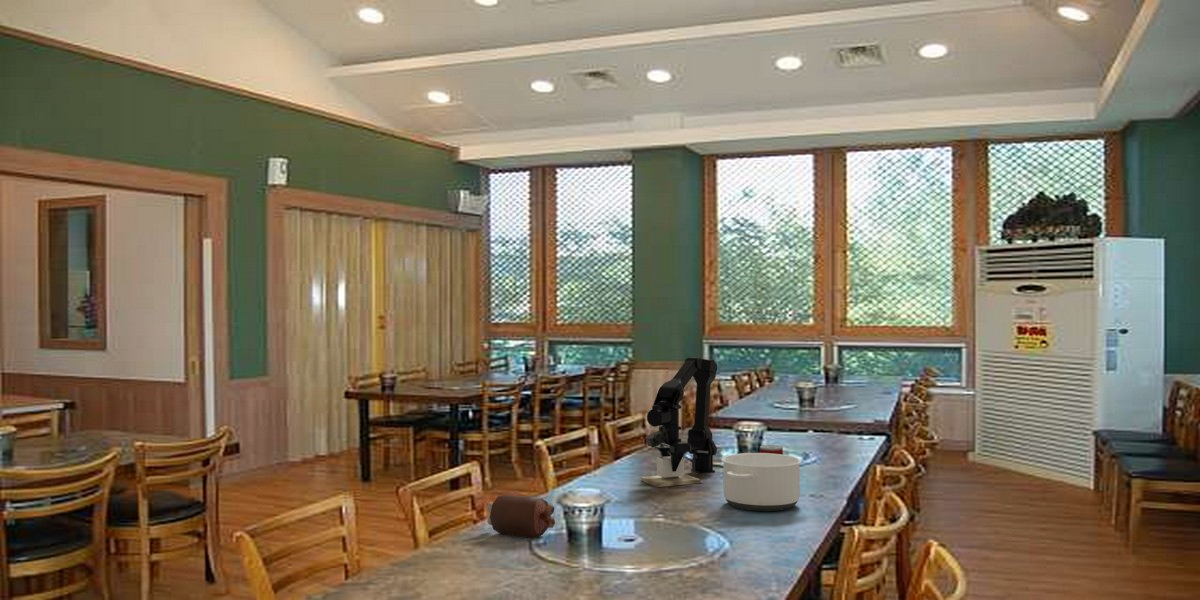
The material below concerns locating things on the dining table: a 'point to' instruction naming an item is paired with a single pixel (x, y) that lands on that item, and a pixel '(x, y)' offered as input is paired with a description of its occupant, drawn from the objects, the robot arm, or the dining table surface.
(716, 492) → the dining table surface
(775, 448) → the canned food
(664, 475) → the white rounded cube
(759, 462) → the pot
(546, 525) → the meat
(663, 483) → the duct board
